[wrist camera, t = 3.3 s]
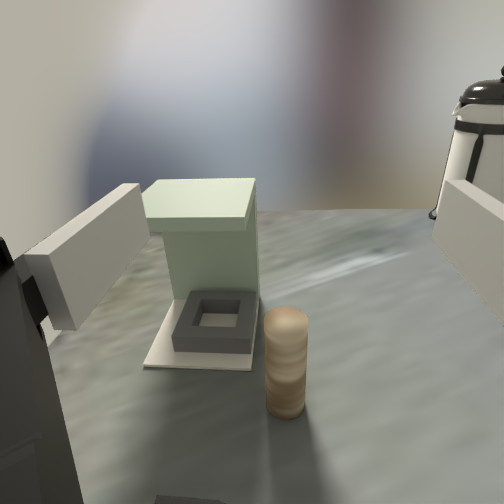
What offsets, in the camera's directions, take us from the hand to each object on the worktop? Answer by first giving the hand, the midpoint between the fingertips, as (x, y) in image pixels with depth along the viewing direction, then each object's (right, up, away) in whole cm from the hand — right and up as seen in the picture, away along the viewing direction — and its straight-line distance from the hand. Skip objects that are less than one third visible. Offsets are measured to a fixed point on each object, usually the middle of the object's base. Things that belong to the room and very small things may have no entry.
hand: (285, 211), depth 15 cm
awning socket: (-7, -12, +32) cm, 35 cm away
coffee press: (+45, +4, +57) cm, 72 cm away
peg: (+2, -18, +21) cm, 27 cm away
